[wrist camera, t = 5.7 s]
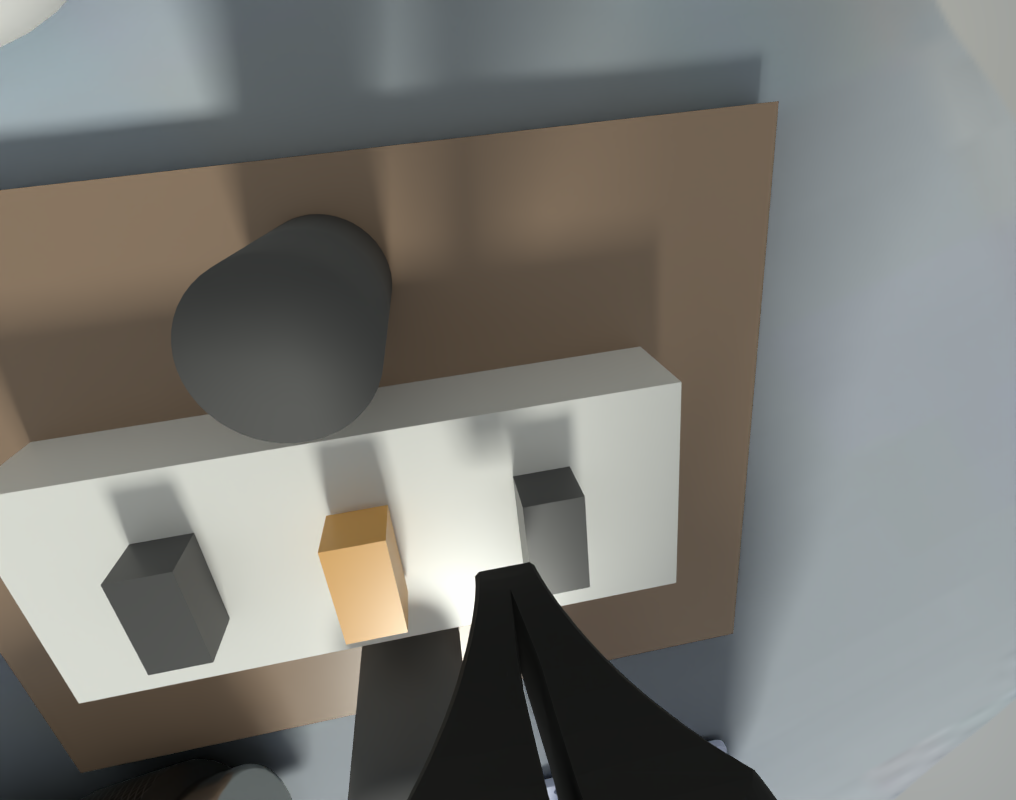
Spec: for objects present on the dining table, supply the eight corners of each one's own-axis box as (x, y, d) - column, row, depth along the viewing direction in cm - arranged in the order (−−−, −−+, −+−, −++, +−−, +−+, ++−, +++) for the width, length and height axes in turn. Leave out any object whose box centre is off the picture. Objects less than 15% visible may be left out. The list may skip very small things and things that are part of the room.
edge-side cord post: (378, 205, 15) (360, 238, 10) (402, 335, 17) (400, 426, 11) (237, 223, 15) (138, 267, 9) (276, 353, 16) (209, 458, 11)
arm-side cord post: (452, 595, 21) (467, 753, 15) (465, 664, 22) (484, 831, 17) (352, 614, 20) (332, 784, 15) (373, 684, 22) (362, 861, 16)
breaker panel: (758, 103, 16) (909, 85, 12) (721, 615, 25) (799, 732, 20) (-242, 218, 14) (-606, 257, 9) (94, 747, 22) (3, 920, 17)
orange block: (387, 504, 15) (385, 540, 14) (407, 591, 16) (408, 632, 15) (325, 515, 15) (317, 552, 13) (351, 602, 16) (346, 644, 15)
